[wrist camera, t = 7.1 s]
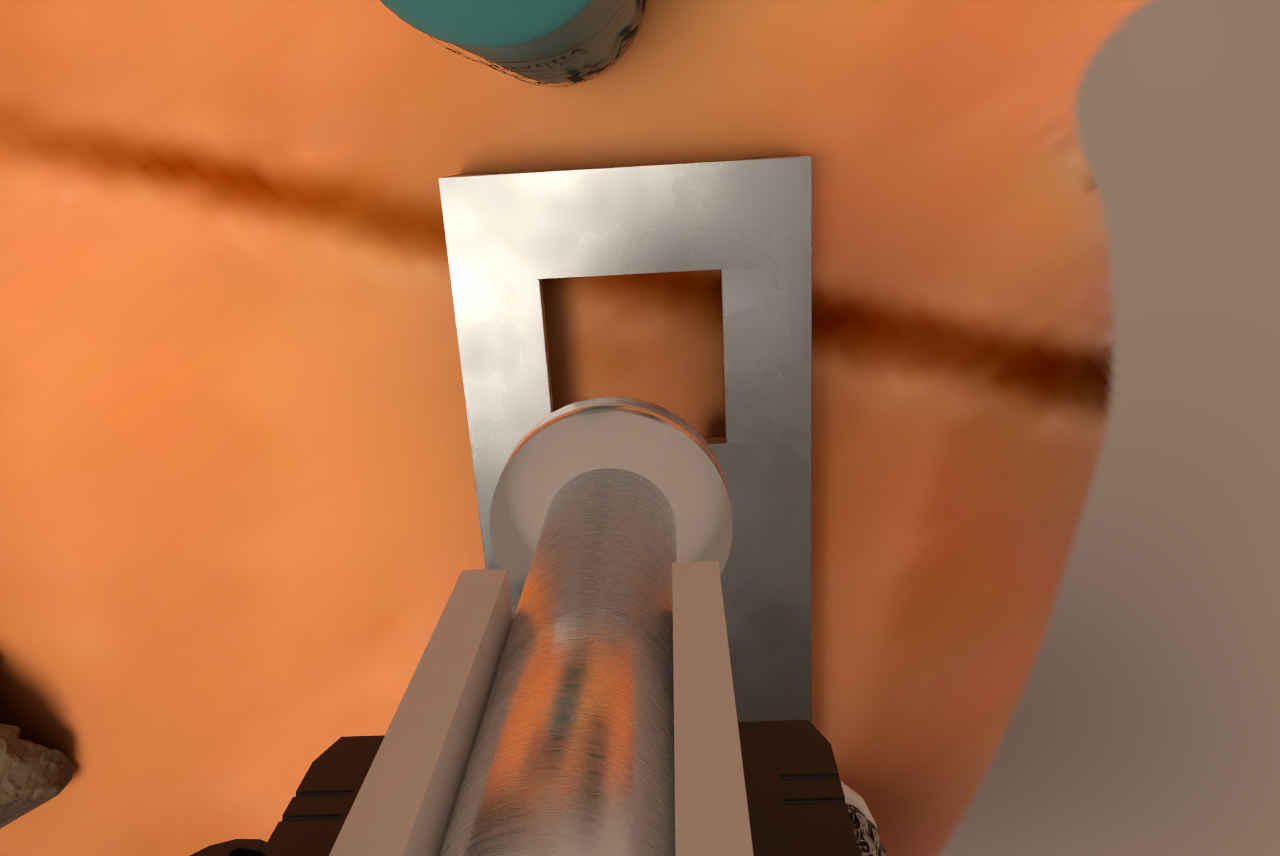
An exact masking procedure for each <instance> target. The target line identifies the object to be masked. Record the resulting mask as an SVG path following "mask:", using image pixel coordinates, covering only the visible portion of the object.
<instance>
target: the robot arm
mask: <svg viewBox="0 0 1280 856" xmlns="http://www.w3.org/2000/svg"><path fill="white" fill-rule="evenodd" d="M672 589H673V677H674V766H675V854H676V856H860V852H859V848H858V844H857V841H856V837H855V833H854V829H853V826H852V822H851V818H850V814H849V811H848V807H847V804H846V803H845V796H844V792H843V788H842V785H841V781H840V779H839V773H838V770H837V766H836V762H835V758H834V755H833V751H832V747H831V744H830V743H829V742H828V741H827V740H826V739H825V737H824V736H823V735H822V734H821V733H820V732H819V731H818V730H817V729H816V728H815V726H814V725H813V724H812V723H811V722H810V721H809V720H785V721H753V722H738V721H737V713H736V704H735V696H734V688H733V679H732V671H731V663H730V654H729V646H728V637H727V629H726V621H725V612H724V604H723V596H722V587H721V579H720V570H719V562H718V561H695V562H672ZM512 623H513V613H512V604H511V595H510V587H509V578H508V569H491V570H465V571H462V572H461V574H460V577H459V579H458V581H457V583H456V585H455V587H454V589H453V592H452V594H451V596H450V598H449V600H448V602H447V604H446V607H445V609H444V611H443V613H442V615H441V617H440V619H439V622H438V624H437V626H436V628H435V630H434V632H433V634H432V636H431V639H430V641H429V643H428V645H427V647H426V649H425V651H424V654H423V656H422V658H421V660H420V662H419V664H418V666H417V669H416V671H415V673H414V675H413V677H412V679H411V681H410V684H409V686H408V688H407V690H406V692H405V694H404V696H403V698H402V701H401V703H400V705H399V707H398V709H397V711H396V713H395V716H394V718H393V720H392V722H391V724H390V726H389V728H388V731H387V733H386V735H385V736H354V737H341V738H340V739H339V740H337V741H336V742H335V743H334V744H333V745H332V746H331V747H329V748H328V749H327V750H326V751H325V752H324V753H323V754H321V755H320V756H319V757H318V758H317V759H316V760H315V761H314V762H312V764H311V766H310V768H309V770H308V771H307V773H306V775H305V777H304V778H303V780H302V782H301V784H300V785H299V787H298V789H297V791H296V797H293V798H292V800H291V801H290V803H289V805H288V807H287V809H286V810H285V812H284V814H283V819H282V822H279V823H278V825H277V826H276V828H275V830H274V832H273V833H272V835H271V837H270V839H269V841H268V842H265V841H263V840H260V839H235V840H231V841H227V842H223V843H219V844H215V845H211V846H208V847H206V848H204V849H202V850H200V851H198V852H196V853H194V854H192V855H190V856H439V854H440V851H441V848H442V845H443V842H444V838H445V835H446V832H447V829H448V826H449V823H450V819H451V816H452V813H453V810H454V807H455V803H456V800H457V797H458V794H459V791H460V788H461V784H462V781H463V778H464V775H465V772H466V769H467V765H468V762H469V759H470V756H471V753H472V750H473V746H474V743H475V740H476V737H477V734H478V730H479V727H480V724H481V721H482V718H483V715H484V711H485V708H486V705H487V702H488V699H489V696H490V692H491V689H492V686H493V683H494V680H495V676H496V673H497V670H498V667H499V664H500V661H501V657H502V654H503V651H504V648H505V645H506V642H507V638H508V635H509V632H510V629H511V626H512Z"/></svg>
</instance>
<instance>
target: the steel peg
mask: <svg viewBox="0 0 1280 856" xmlns="http://www.w3.org/2000/svg"><path fill="white" fill-rule="evenodd" d="M489 521H490V536H491V542H492V547H493V551H494V554H495V557H496V560H497V562H498V564H499V566H500V568H501V569H508V578H509V584H510V585H511V587H512V588H513V589H514V590H515V592H516V593H517V594H518V595H519V596H520V600H519V603H518V607H517V610H516V613H515V616H514V619H513V623H512V626H511V629H510V632H509V635H508V638H507V642H506V645H505V648H504V651H503V654H502V657H501V661H500V664H499V667H498V670H497V673H496V676H495V680H494V683H493V686H492V689H491V692H490V696H489V699H488V702H487V705H486V708H485V711H484V715H483V718H482V721H481V724H480V727H479V730H478V734H477V737H476V740H475V743H474V746H473V750H472V753H471V756H470V759H469V762H468V765H467V769H466V772H465V775H464V778H463V781H462V784H461V788H460V791H459V794H458V797H457V800H456V803H455V807H454V810H453V813H452V816H451V819H450V823H449V826H448V829H447V832H446V835H445V838H444V842H443V845H442V848H441V851H440V854H439V856H676V854H675V766H674V677H673V589H672V562H695V561H718V562H719V570H720V575H721V573H722V572H723V570H724V568H725V565H726V562H727V559H728V556H729V553H730V548H731V542H732V530H733V522H732V512H731V505H730V499H729V493H728V488H727V484H726V480H725V476H724V473H723V470H722V468H721V465H720V463H719V461H718V459H717V457H716V455H715V454H714V452H713V450H712V449H711V447H710V446H709V445H708V443H707V442H706V441H705V439H704V438H703V437H702V436H701V435H700V434H699V433H698V432H697V431H696V430H695V429H694V428H693V427H692V426H691V425H689V424H688V423H687V422H686V421H684V420H683V419H682V418H680V417H679V416H677V415H675V414H673V413H672V412H670V411H668V410H666V409H664V408H662V407H659V406H657V405H654V404H652V403H648V402H645V401H641V400H637V399H631V398H624V397H601V398H592V399H587V400H583V401H579V402H575V403H572V404H570V405H567V406H564V407H562V408H560V409H558V410H556V411H554V412H552V413H551V414H549V415H547V416H546V417H545V418H543V419H542V420H540V421H539V422H538V423H536V424H535V425H534V426H533V427H532V428H531V429H530V430H529V431H528V432H527V433H526V434H525V435H524V436H523V438H522V439H521V440H520V441H519V443H518V444H517V445H516V447H515V449H514V450H513V452H512V454H511V456H510V457H509V459H508V461H507V463H506V465H505V468H504V470H503V472H502V474H501V476H500V478H499V481H498V483H497V485H496V488H495V490H494V494H493V498H492V502H491V508H490V519H489Z"/></svg>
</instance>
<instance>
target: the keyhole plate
mask: <svg viewBox="0 0 1280 856" xmlns="http://www.w3.org/2000/svg"><path fill="white" fill-rule="evenodd" d="M439 186H440V195H441V203H442V211H443V219H444V228H445V236H446V244H447V253H448V261H449V269H450V277H451V286H452V294H453V302H454V310H455V319H456V327H457V335H458V344H459V352H460V360H461V368H462V377H463V385H464V393H465V402H466V410H467V418H468V426H469V435H470V443H471V451H472V459H473V468H474V476H475V484H476V493H477V501H478V509H479V517H480V526H481V534H482V542H483V551H484V559H485V567H486V570H491V569H501V568H500V566H499V564H498V562H497V560H496V557H495V554H494V551H493V547H492V542H491V536H490V521H489V519H490V508H491V502H492V498H493V494H494V490H495V488H496V485H497V483H498V481H499V478H500V476H501V474H502V472H503V470H504V468H505V465H506V463H507V461H508V459H509V457H510V456H511V454H512V452H513V450H514V449H515V447H516V445H517V444H518V443H519V441H520V440H521V439H522V438H523V436H524V435H525V434H526V433H527V432H528V431H529V430H530V429H531V428H532V427H533V426H534V425H535V424H536V423H538V422H539V421H540V420H542V419H543V418H545V417H546V416H547V415H549V414H551V413H552V412H554V407H553V396H552V385H551V374H550V363H549V351H548V340H547V329H546V318H545V307H544V296H543V285H542V279H548V278H566V277H585V276H604V275H623V274H641V273H660V272H679V271H698V270H716V269H721V303H722V337H723V371H724V405H725V437H707V438H704V439H705V441H706V442H707V443H708V445H709V446H710V447H711V449H712V450H713V452H714V454H715V455H716V457H717V459H718V461H719V463H720V465H721V468H722V470H723V473H724V476H725V480H726V484H727V488H728V493H729V499H730V505H731V512H732V522H733V530H732V542H731V548H730V553H729V556H728V559H727V562H726V565H725V568H724V570H723V572H722V573H721V575H720V579H721V587H722V596H723V604H724V612H725V621H726V629H727V637H728V646H729V654H730V663H731V671H732V679H733V688H734V696H735V704H736V713H737V721H738V722H753V721H785V720H809V721H810V722H811V306H812V156H806V155H782V156H765V157H759V159H746V160H729V161H712V162H695V163H678V164H661V165H643V166H626V167H609V168H592V169H575V170H558V171H541V172H524V173H507V174H497V172H492V173H475V174H458V175H453V176H447V177H442V178H439ZM509 587H510V595H511V604H512V613H513V619H514V616H515V613H516V610H517V607H518V603H519V600H520V596H519V595H518V594H517V593H516V592H515V590H514V589H513V588H512V587H511V585H510V584H509Z"/></svg>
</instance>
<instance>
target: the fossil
mask: <svg viewBox="0 0 1280 856" xmlns="http://www.w3.org/2000/svg"><path fill="white" fill-rule="evenodd" d="M20 730H21V729H20V728H19V727H17V726H13V725H7V724H2V723H0V828H2V827H4V826H5V825H7V824H9V823H10V822H12V821H14V820H15V819H17V818H19V817H20V816H22V815H24V814H26V813H28V812H29V811H31V810H33V809H35V808H36V807H38V806H40V805H42V804H43V803H45V802H47V801H48V800H50V799H52V798H53V797H55V796H57V795H58V794H59V793H60V792H61V791H62V790H63V789H64V788H65V787H66V786H67V784H68V783H69V782H70V780H71V779H72V775H73V765H72V763H71V761H70V759H68V758H65V757H66V756H65V755H64V754H63V753H62V752H61V751H59V750H57V749H53V750H50V749H48V748H47V747H43V746H42V745H38V744H35V743H34V742H32V741H29V740H21V739H20V738H18V735H19V733H20Z"/></svg>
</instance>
